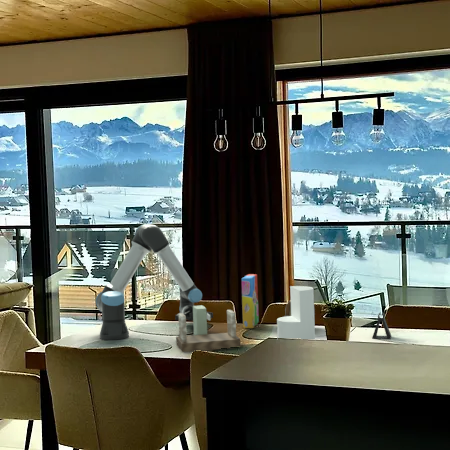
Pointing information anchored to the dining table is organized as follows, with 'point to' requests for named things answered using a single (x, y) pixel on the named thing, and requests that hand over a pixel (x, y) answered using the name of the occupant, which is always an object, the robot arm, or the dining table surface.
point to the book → (199, 320)
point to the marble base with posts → (207, 336)
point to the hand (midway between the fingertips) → (196, 318)
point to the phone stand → (388, 334)
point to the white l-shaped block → (299, 315)
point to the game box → (250, 301)
